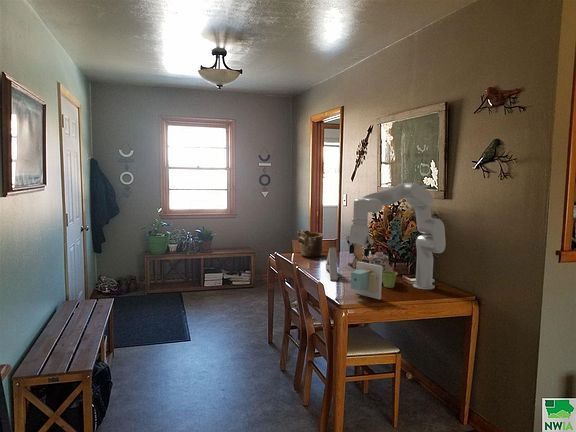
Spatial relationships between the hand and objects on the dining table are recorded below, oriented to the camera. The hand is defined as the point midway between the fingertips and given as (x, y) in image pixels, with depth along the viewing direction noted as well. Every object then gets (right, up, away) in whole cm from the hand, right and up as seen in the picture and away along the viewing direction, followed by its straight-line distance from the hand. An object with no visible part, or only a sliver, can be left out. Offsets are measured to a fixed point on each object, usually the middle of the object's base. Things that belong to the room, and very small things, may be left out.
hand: (358, 254), depth 232 cm
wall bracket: (-9, -19, +60) cm, 63 cm away
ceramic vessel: (-19, -12, +123) cm, 125 cm away
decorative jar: (+20, -21, +46) cm, 54 cm away
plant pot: (+23, -22, +31) cm, 45 cm away
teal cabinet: (+2, -18, +4) cm, 19 cm away
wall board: (+5, -24, +8) cm, 26 cm away
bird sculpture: (+13, -17, +87) cm, 89 cm away
